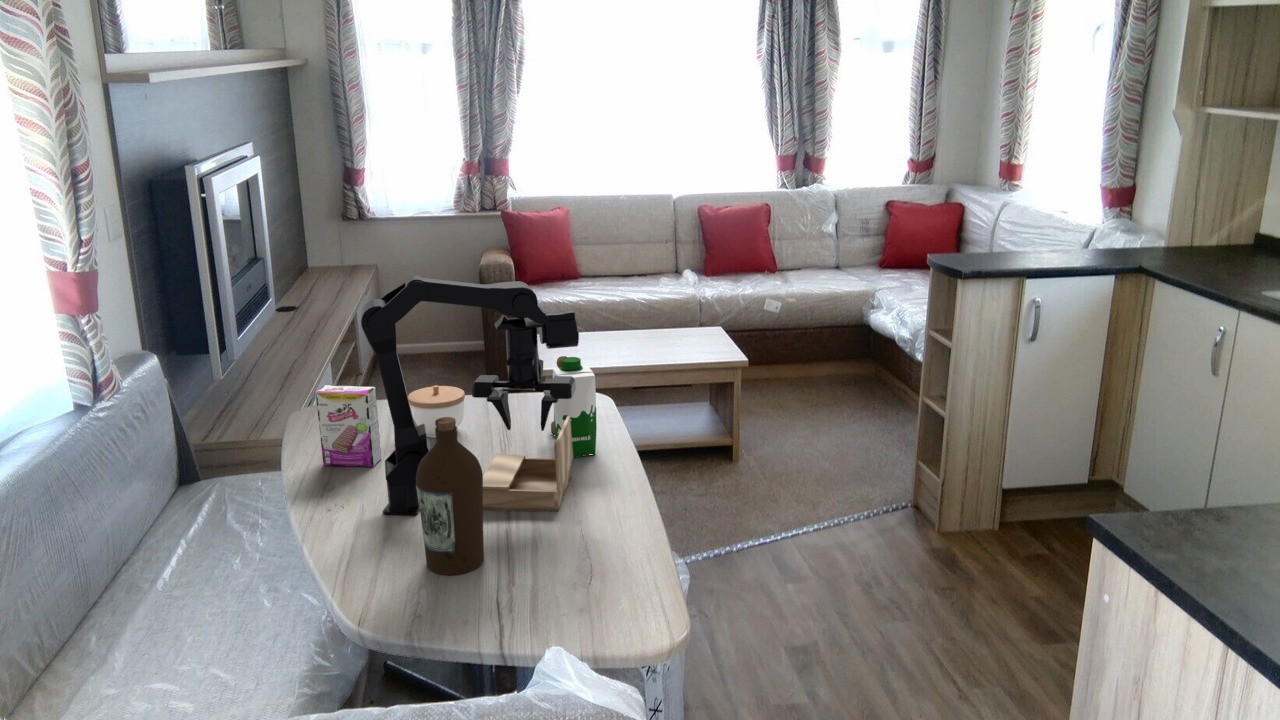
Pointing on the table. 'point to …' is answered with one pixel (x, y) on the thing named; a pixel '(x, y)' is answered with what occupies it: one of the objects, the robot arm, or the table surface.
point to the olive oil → (451, 503)
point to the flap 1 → (502, 471)
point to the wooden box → (529, 489)
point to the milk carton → (578, 407)
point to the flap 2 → (563, 453)
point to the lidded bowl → (436, 406)
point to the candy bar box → (349, 425)
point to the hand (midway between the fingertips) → (526, 429)
